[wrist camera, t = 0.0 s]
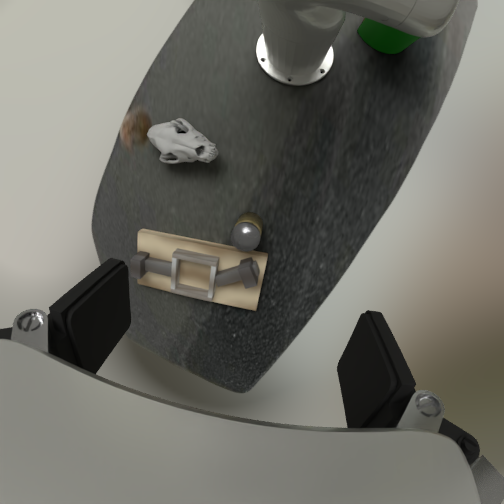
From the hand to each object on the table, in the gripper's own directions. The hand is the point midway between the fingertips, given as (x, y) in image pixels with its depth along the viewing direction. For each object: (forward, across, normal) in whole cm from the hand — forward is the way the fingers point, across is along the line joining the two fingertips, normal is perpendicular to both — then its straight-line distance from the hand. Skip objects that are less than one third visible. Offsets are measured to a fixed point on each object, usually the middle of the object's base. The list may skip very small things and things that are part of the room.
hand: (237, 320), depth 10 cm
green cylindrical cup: (+37, -15, -34) cm, 52 cm away
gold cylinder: (+37, +2, +7) cm, 38 cm away
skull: (+37, +15, -5) cm, 40 cm away
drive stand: (+37, +10, +17) cm, 42 cm away
